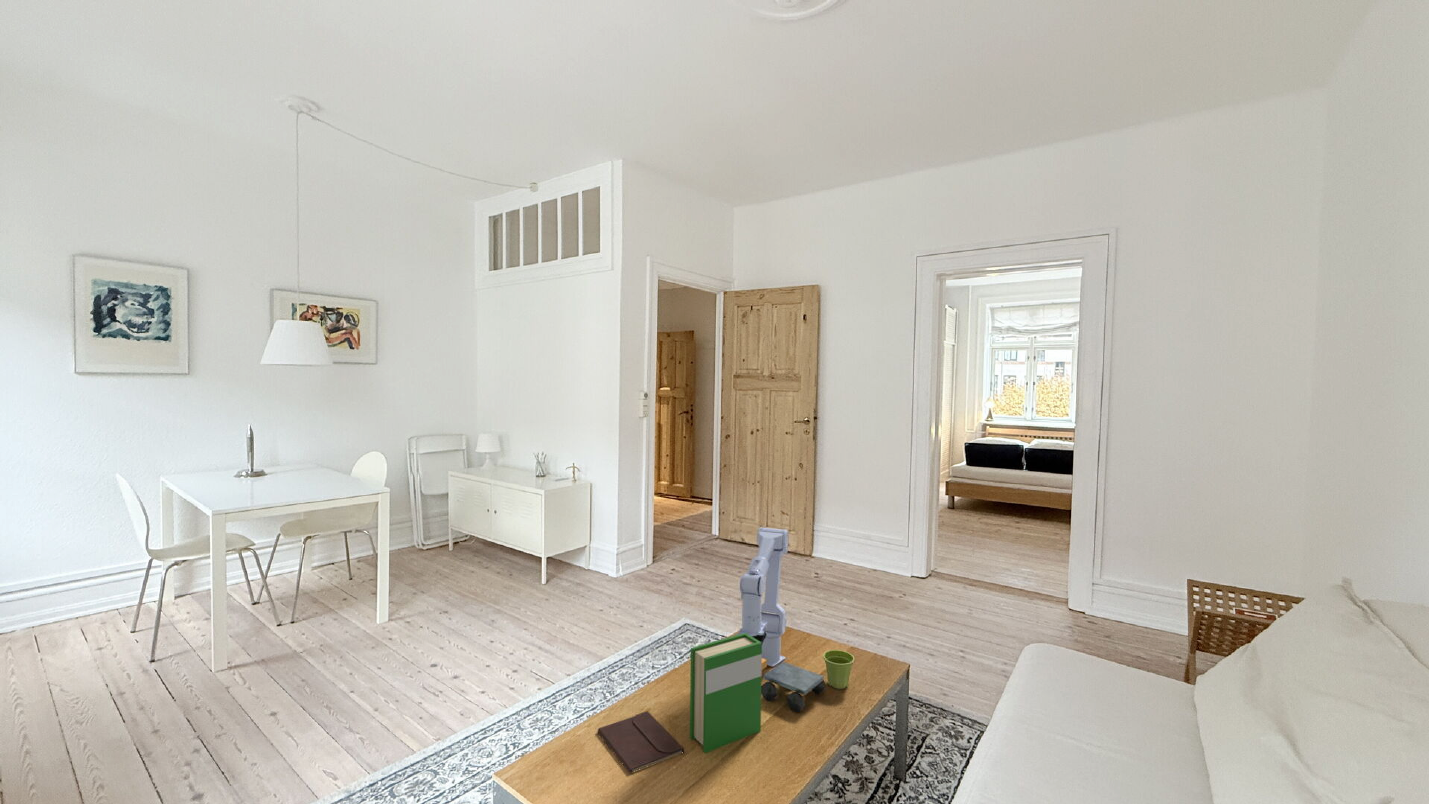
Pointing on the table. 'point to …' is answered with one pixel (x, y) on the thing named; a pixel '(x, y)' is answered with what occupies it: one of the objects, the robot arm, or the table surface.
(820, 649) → the table surface
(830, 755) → the table surface
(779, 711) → the table surface
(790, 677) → the trolley
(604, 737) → the notebook
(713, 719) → the hardback book
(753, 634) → the robot arm
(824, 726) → the table surface
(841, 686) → the plant pot
